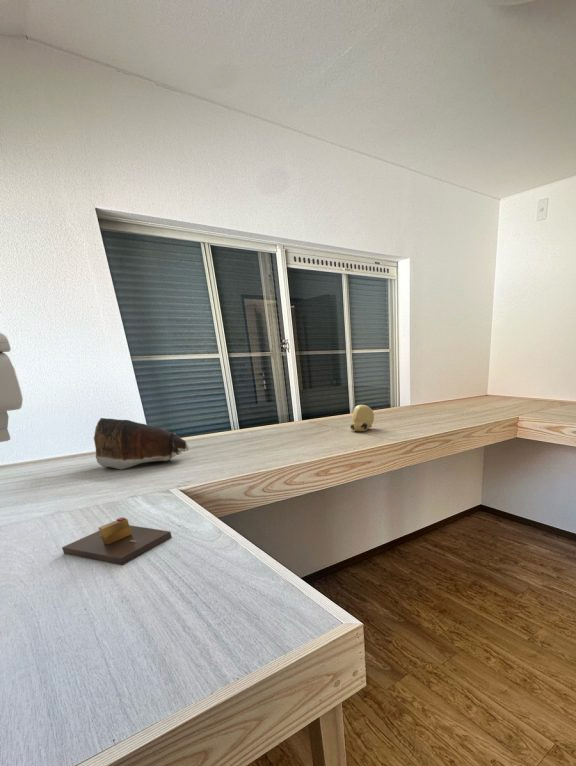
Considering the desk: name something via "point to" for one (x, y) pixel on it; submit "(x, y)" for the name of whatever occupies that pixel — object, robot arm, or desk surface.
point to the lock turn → (115, 531)
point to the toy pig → (362, 418)
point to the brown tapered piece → (134, 443)
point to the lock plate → (118, 545)
